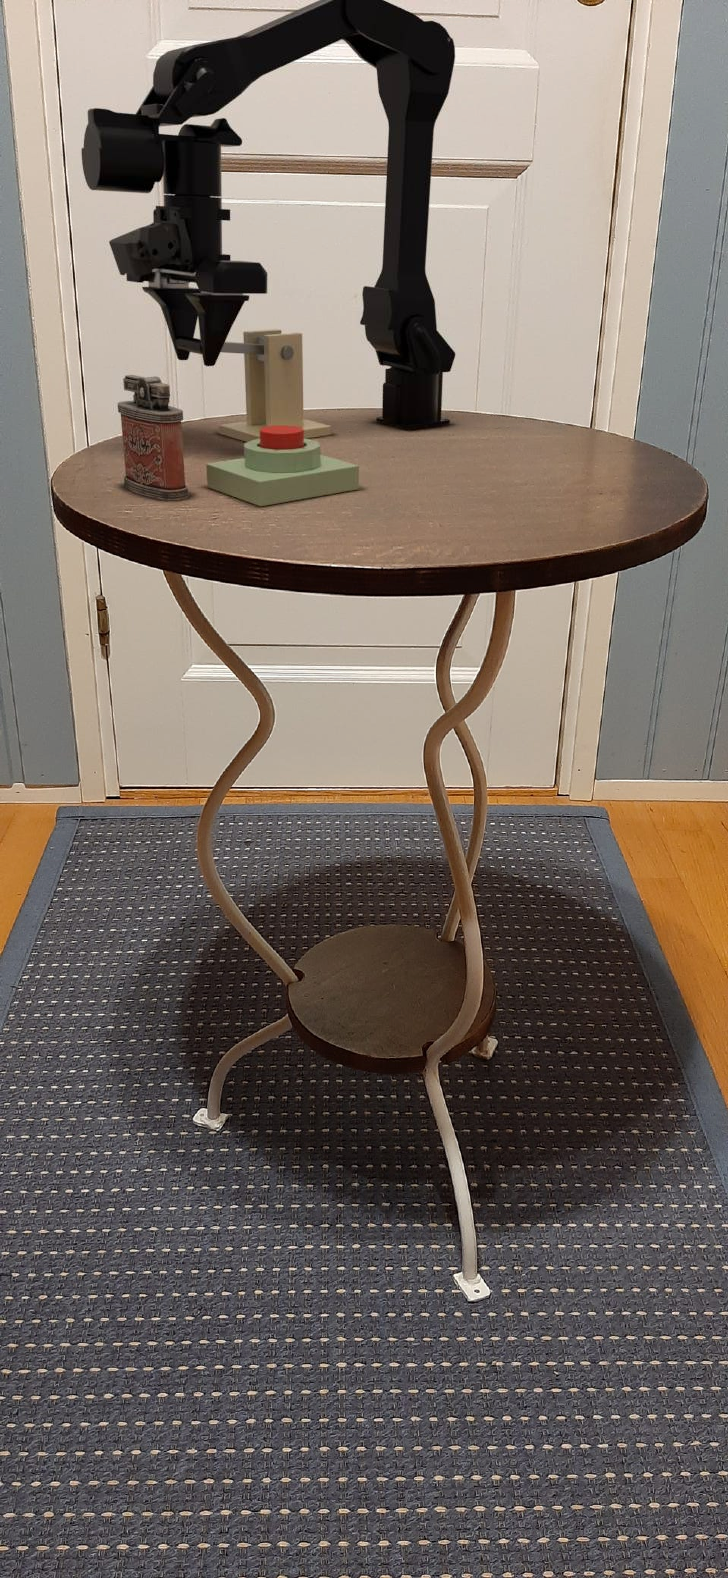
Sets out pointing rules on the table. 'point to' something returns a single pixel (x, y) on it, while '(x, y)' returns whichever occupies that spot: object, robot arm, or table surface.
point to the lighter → (152, 440)
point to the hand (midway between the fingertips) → (195, 362)
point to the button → (281, 437)
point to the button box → (281, 474)
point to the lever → (228, 347)
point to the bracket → (274, 388)
